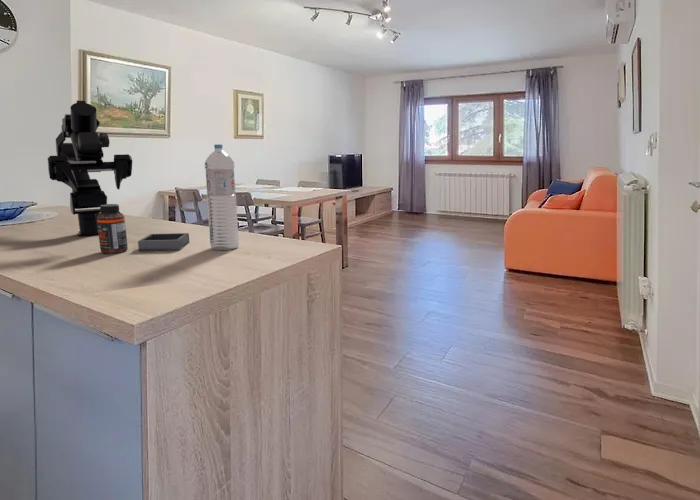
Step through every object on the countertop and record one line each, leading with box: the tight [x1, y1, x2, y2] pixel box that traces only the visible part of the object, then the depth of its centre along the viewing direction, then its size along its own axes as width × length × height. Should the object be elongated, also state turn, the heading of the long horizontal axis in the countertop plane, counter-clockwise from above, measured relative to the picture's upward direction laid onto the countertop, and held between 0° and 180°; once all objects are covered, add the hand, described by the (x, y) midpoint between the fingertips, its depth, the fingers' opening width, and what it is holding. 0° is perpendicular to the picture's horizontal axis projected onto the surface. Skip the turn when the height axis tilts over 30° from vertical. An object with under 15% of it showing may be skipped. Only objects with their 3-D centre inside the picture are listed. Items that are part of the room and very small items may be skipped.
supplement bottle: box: [97, 203, 129, 255], centre depth 115 cm, size 6×6×11 cm
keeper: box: [137, 232, 190, 252], centre depth 121 cm, size 10×10×2 cm
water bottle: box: [204, 143, 240, 251], centre depth 117 cm, size 7×7×25 cm
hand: (98, 189), depth 118 cm, fingers open, 9 cm apart
